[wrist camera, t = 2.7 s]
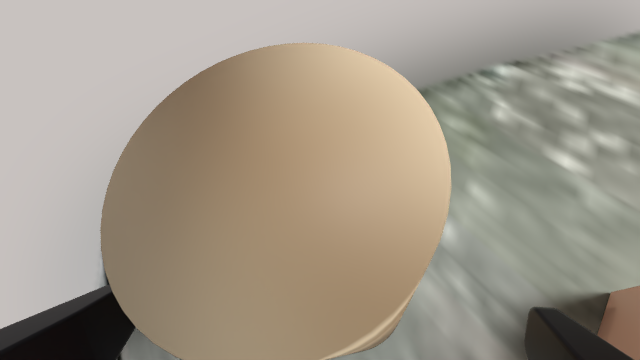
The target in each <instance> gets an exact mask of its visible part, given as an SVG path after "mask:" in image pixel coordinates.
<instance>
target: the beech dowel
mask: <svg viewBox="0 0 640 360" xmlns="http://www.w3.org/2000/svg"><path fill="white" fill-rule="evenodd" d="M450 194H451V167H450V160H449V155H448V150H447V144H446V141H445V138H444V136H443V133H442V130H441V127H440V125H439V122H438V121H437V119H436V117H435V115H434V113H433V111H432V110H431V108H430V106H429V105H428V103H427V102H426V101H425V99H424V98H423V97H422V96H421V94H420V93H419V92H418V90H417V89H416V88H415V87H414V86H412V85H411V84H410V83H409V82H408V81H407V80H406V79H405V78H404V77H403V76H401V75H400V74H399V73H397V72H396V71H395V70H393V69H392V68H391V67H389V66H387V65H386V64H384V63H382V62H380V61H378V60H376V59H375V58H373V57H370V56H368V55H365V54H362V53H360V52H358V51H354V50H351V49H347V48H343V47H339V46H333V45H327V44H314V43H292V44H281V45H274V46H268V47H263V48H259V49H256V50H251V51H248V52H245V53H242V54H239V55H236V56H233V57H231V58H228V59H226V60H224V61H221V62H219V63H217V64H215V65H213V66H212V67H209V68H207V69H206V70H204V71H202V72H200V73H199V74H197V75H196V76H194V77H193V78H191V79H189V80H188V81H186V82H185V83H184V84H182V85H181V86H180V87H179V88H177V89H176V90H175V91H173V92H172V93H171V94H170V95H169V96H167V97H166V98H165V99H164V100H163V101H162V102H161V103H160V104H159V105H158V106H157V107H156V108H155V109H154V110H153V111H152V112H151V113H150V114H149V115H148V117H147V118H146V119H145V120H144V121H143V123H142V124H141V125H140V127H139V128H138V129H137V130H136V132H135V133H134V134H133V136H132V138H131V139H130V141H129V142H128V144H127V146H126V147H125V149H124V151H123V152H122V154H121V156H120V158H119V160H118V162H117V164H116V167H115V169H114V171H113V174H112V177H111V179H110V183H109V185H108V188H107V192H106V196H105V200H104V205H103V210H102V219H101V251H102V257H103V262H104V268H105V272H106V275H107V278H108V281H109V284H110V287H111V289H112V292H113V294H114V295H115V297H116V299H117V301H118V303H119V305H120V307H121V308H122V310H123V311H124V313H125V314H126V315H127V316H128V318H129V319H130V320H131V322H132V323H133V324H134V325H135V327H136V328H137V329H138V330H139V331H141V332H142V333H143V334H144V335H145V336H146V337H147V338H148V339H150V340H151V341H152V342H153V343H154V344H156V345H157V346H159V347H161V348H162V349H164V350H165V351H167V352H169V353H170V354H172V355H174V356H175V357H178V358H180V359H183V360H327V359H331V358H335V357H339V356H344V355H348V354H352V353H357V352H361V351H365V350H368V349H371V348H374V347H376V346H378V345H379V344H381V343H382V342H384V341H385V340H386V339H387V338H388V337H389V336H390V335H391V334H392V333H393V331H394V330H395V328H396V326H397V325H398V323H399V321H400V319H401V317H402V315H403V313H404V311H405V309H406V307H407V306H408V304H409V302H410V300H411V298H412V296H413V294H414V292H415V290H416V288H417V286H418V284H419V282H420V281H421V279H422V277H423V275H424V273H425V271H426V269H427V267H428V265H429V263H430V261H431V259H432V257H433V254H434V252H435V250H436V248H437V246H438V244H439V241H440V239H441V236H442V233H443V229H444V226H445V222H446V219H447V215H448V210H449V202H450Z"/></svg>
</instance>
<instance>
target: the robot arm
mask: <svg viewBox="0 0 640 360" xmlns="http://www.w3.org/2000/svg"><path fill="white" fill-rule="evenodd" d="M135 328H136V327H135V325H134V324H133V323H132V322H131V320H130V319H129V318H128V316H127V315H126V314H125V313H124V311H123V310H122V308H121V307H120V305H119V303H118V301H117V299H116V297H115V295H114V294H113V292H112V289H111V287H110V284H109V285H107V286H104V287H102V288H99V289H97V290H94V291H92V292H89V293H87V294H85V295H82V296H80V297H77V298H75V299H73V300H70V301H68V302H65V303H63V304H60V305H58V306H56V307H53V308H51V309H48V310H46V311H43V312H41V313H38V314H36V315H34V316H31V317H29V318H26V319H24V320H21V321H19V322H16V323H14V324H12V325H9V326H7V327H4V328H2V329H0V360H116V359H117V357H118V356H119V354H120V352H121V351H122V349H123V347H124V346H125V344H126V342H127V341H128V339H129V337H130V336H131V334H132V333H133V331H134V329H135ZM524 344H525V350H526V354H527V357H528V360H634V359H633V358H631V357H630V356H628V355H626V354H625V353H623V352H622V351H620V350H619V349H617V348H616V347H614V346H613V345H611V344H610V343H608V342H607V341H605V340H603V339H602V338H600V337H599V336H597V335H596V334H594V333H593V332H591V331H590V330H588V329H587V328H585V327H584V326H582V325H580V324H579V323H577V322H576V321H574V320H573V319H571V318H570V317H568V316H567V315H565V314H564V313H562V312H561V311H559V310H557V309H555V308H546V307H533V308H531V309H530V311H529V314H528V320H527V327H526V333H525V340H524Z"/></svg>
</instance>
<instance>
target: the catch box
mask: <svg viewBox="0 0 640 360" xmlns="http://www.w3.org/2000/svg"><path fill="white" fill-rule="evenodd" d="M597 336H599V337H600V338H602V339H603V340H605V341H607V342H608V343H610V344H611V345H613V346H614V347H616V348H617V349H619V350H620V351H622V352H623V353H625V354H626V355H628V356H630V357H631V358H633V359H634V360H640V286H636V287H632V288H628V289H624V290H619V291H615V292H611V294H610V297H609V300H608V303H607V306H606V309H605V312H604V315H603V319H602V322H601V325H600V328H599V331H598V334H597Z"/></svg>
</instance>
